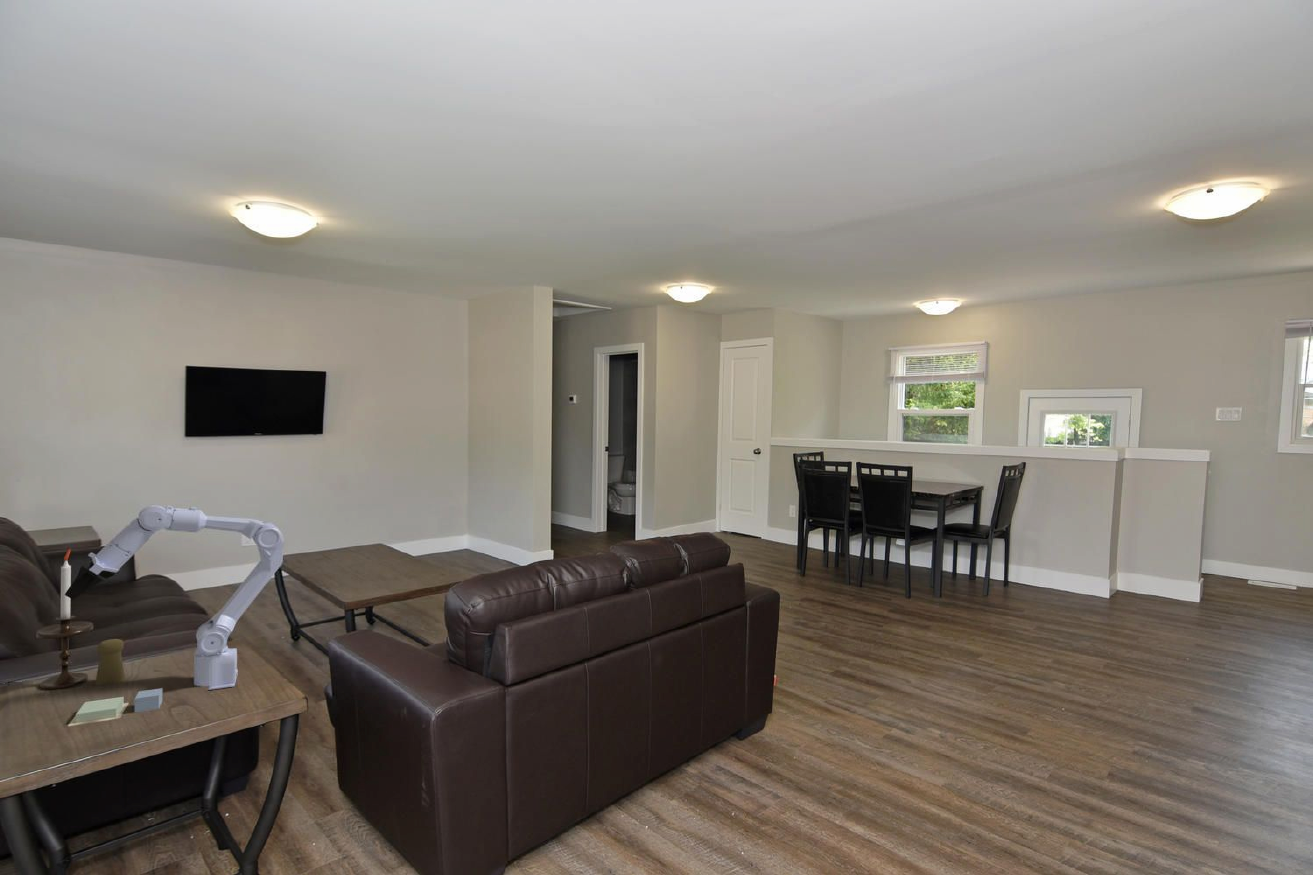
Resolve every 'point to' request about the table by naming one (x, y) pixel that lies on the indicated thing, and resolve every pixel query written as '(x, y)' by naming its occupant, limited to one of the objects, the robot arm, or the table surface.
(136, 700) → the blue cube
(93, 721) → the birch slab
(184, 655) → the table surface
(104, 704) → the green block
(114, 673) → the olive tall rounded piece
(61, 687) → the candlestick
